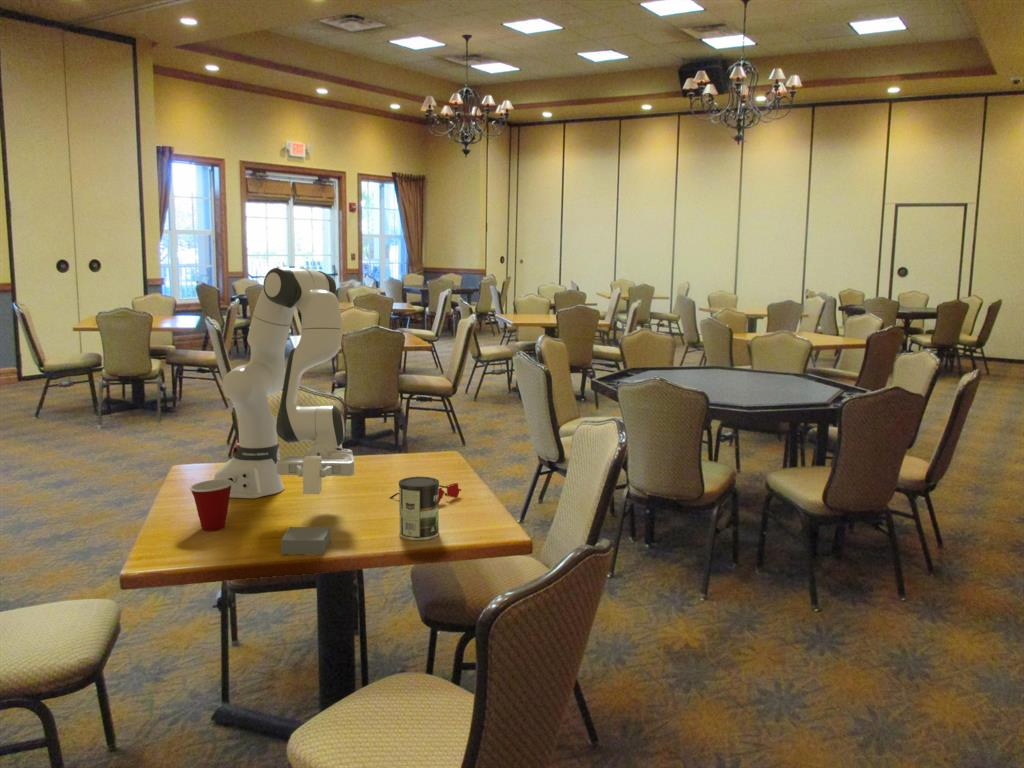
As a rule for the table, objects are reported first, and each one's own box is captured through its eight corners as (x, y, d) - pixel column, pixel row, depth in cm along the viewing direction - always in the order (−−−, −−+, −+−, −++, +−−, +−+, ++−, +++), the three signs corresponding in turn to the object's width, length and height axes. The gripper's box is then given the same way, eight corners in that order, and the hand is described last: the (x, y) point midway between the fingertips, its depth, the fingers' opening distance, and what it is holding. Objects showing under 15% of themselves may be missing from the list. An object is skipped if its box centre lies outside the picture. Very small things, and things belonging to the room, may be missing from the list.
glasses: (432, 509, 246) (432, 492, 245) (389, 499, 255) (389, 483, 254) (462, 498, 258) (462, 481, 257) (419, 489, 267) (419, 473, 266)
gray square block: (281, 556, 206) (280, 540, 205) (290, 542, 216) (290, 527, 215) (323, 556, 206) (323, 540, 206) (330, 542, 216) (330, 527, 216)
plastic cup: (200, 520, 231) (198, 477, 229) (240, 521, 230) (238, 478, 229) (183, 533, 220) (181, 488, 218) (225, 534, 220) (224, 489, 218)
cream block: (303, 494, 219) (302, 459, 218) (305, 489, 223) (305, 455, 222) (318, 494, 220) (318, 459, 218) (321, 489, 223) (321, 456, 222)
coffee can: (439, 527, 228) (439, 476, 226) (438, 540, 218) (439, 486, 216) (399, 528, 227) (399, 476, 225) (397, 541, 217) (397, 486, 215)
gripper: (281, 448, 232) (270, 460, 219) (357, 449, 234) (351, 462, 220) (281, 471, 233) (270, 485, 220) (357, 472, 234) (351, 486, 221)
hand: (311, 473), depth 220 cm, fingers closed on cream block, 4 cm apart
